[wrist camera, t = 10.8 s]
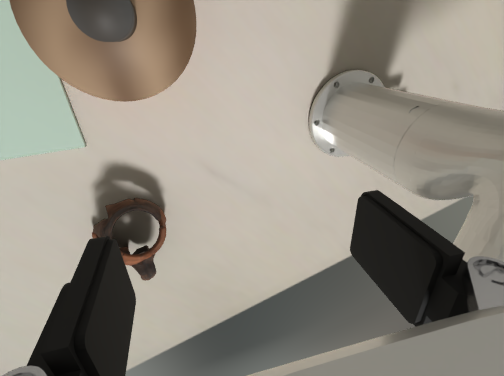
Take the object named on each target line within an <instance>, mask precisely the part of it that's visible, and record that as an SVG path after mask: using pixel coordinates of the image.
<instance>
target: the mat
mask: <svg viewBox="0 0 504 376" xmlns="http://www.w3.org/2000/svg"><path fill="white" fill-rule="evenodd" d="M82 147H86V143H85V140H84V138H83V135H82V133H81V130H80V128H79V125H78V122H77V120H76V117H75V115H74V112H73V110H72V107H71V104H70V102H69V99H68V97H67V94H66V92H65V89H64V86H63V84H62V81H61V79H60V77H58V76H57V75H56V74H55V73H54V72H52V71H51V70H50V69H49V68H48V67H47V66H46V65H45V64H44V63H43V62H42V61H41V60H40V59H39V57H38V56H37V55H36V54H35V52H34V51H33V50H32V49H31V47H30V46H29V44H28V43H27V41H26V39H25V38H24V36H23V35H22V33H21V30H20V28H19V26H18V24H17V22H16V20H15V17H14V14H13V12H12V9H11V5H10V1H9V0H0V160H6V159H12V158H18V157H25V156H31V155H38V154H44V153H50V152H57V151H63V150H69V149H76V148H82Z"/></svg>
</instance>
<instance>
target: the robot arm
mask: <svg viewBox="0 0 504 376" xmlns="http://www.w3.org/2000/svg"><path fill="white" fill-rule="evenodd" d="M314 121H315V122H314ZM309 130H310V134H311V137H312V140H313V141H314V143H315V145H316V146H317V147H318V148H319V149H320V150H322V151H323V152H324V153H326V154H328V155H330V156H335V157H346V156H351V157H353V158H355V159H356V160H358V161H360V162H361V163H363V164H365V165H366V166H368V167H370V168H371V169H373V170H375V171H376V172H378V173H380V174H381V175H383V176H385V177H386V178H388V179H390V180H391V181H393V182H395V183H396V184H398V185H400V186H401V187H403V188H405V189H406V190H408V191H410V192H412V193H413V194H415V195H418V196H420V197H423V198H426V199H432V200H451V199H459V198H464V197H469V196H473V198H474V201H473V205H472V207H471V209H470V211H469V213H468V215H467V219H466V221H465V222H464V224H463V226H462V228H461V230H460V232H459V234H458V235H457V237H456V239H455V241H454V243H453V244H452V243H451V242H450V241H448V240H447V239H445V238H444V237H443V236H441V235H440V234H439V233H437V232H436V231H434V230H433V229H432V228H430V227H429V226H427V225H426V224H425V223H423V222H422V221H420V220H419V219H418V218H416V217H415V216H413V215H412V214H411V213H409V212H408V211H407V210H405V209H404V208H402V207H401V206H400V205H398V204H397V203H395V202H394V201H393V200H391V199H390V198H388V197H387V196H386V195H384V194H383V193H381V192H380V191H378V190H375V191H369V192H364V193H363V194H362V195H361V197H359V199H358V203H357V209H356V216H355V222H354V228H353V234H352V240H351V246H350V251H351V254H352V256H353V257H354V258H355V259H356V261H357V262H358V263H359V264H360V265H361V267H362V268H363V269H364V270H365V271H366V273H367V274H368V275H369V276H370V277H371V278H372V280H373V281H374V282H375V283H376V284H377V285H378V287H379V288H380V289H381V290H382V292H383V293H384V294H385V295H386V296H387V297H388V299H389V300H390V301H391V302H392V303H393V305H394V306H395V307H396V308H397V309H398V311H399V312H400V313H401V314H402V315H403V317H404V318H405V319H406V320H407V321H408V322H409V323H411V324H414V325H415V327H414V328H410V329H407V330H403V331H400V332H396V333H392V334H389V335H385V336H382V337H378V338H374V339H371V340H367V341H364V342H360V343H357V344H354V345H350V346H347V347H343V348H340V349H336V350H333V351H329V352H326V353H323V354H319V355H316V356H312V357H309V358H305V359H302V360H298V361H295V362H292V363H288V364H285V365H281V366H278V367H274V368H271V369H268V370H264V371H261V372H257V373H254V374H251V375H247V376H504V111H502V110H496V109H490V108H484V107H478V106H473V105H468V104H463V103H458V102H453V101H448V100H443V99H438V98H434V97H429V96H424V95H419V94H414V93H409V92H404V91H399V90H395V89H390V88H385V87H384V85H383V83H382V82H381V80H380V79H379V78H378V77H377V76H376V75H374V74H372V73H370V72H367V71H363V70H349V71H345V72H342V73H340V74H338V75H336V76H335V77H333V78H332V79H330V80H329V81H328V82H327V83H326V84H325V85H324V86H323V87H322V89H321V90H320V91H319V93H318V94H317V96H316V98H315V100H314V102H313V104H312V107H311V111H310V115H309ZM135 305H136V297H135V292H134V290H133V287H132V284H131V281H130V278H129V275H128V272H127V269H126V266H125V263H124V260H123V257H122V254H121V251H120V248H119V246H118V243H117V240H116V239H113V240H111V238H110V237H109V236H105V237H99V238H94V239H90V240H89V241H88V243H87V246H86V248H85V250H84V253H83V255H82V257H81V260H80V262H79V264H78V267H77V269H76V271H75V273H74V276H73V278H72V280H71V283H67V284H65V285H64V286H63V288H62V289H61V292H60V294H59V296H58V298H57V300H56V303H55V305H54V307H53V309H52V311H51V314H50V316H49V318H48V320H47V322H46V325H45V327H44V329H43V331H42V333H41V335H40V338H39V340H38V342H37V344H36V346H35V349H34V351H33V353H32V355H31V357H30V360H29V362H28V364H27V366H24V367H19V368H17V369H14V370H12V371H10V372H8V373H6V374H4V375H3V376H125V372H126V366H127V360H128V353H129V346H130V339H131V332H132V325H133V318H134V312H135Z"/></svg>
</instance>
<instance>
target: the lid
mask: <svg viewBox="0 0 504 376" xmlns="http://www.w3.org/2000/svg"><path fill="white" fill-rule="evenodd" d="M9 1H10V5H11V9H12V12H13V14H14V17H15V20H16V22H17V24H18V26H19V28H20V30H21V33H22V35H23V36H24V38H25V39H26V41H27V43H28V44H29V46H30V47H31V49H32V50H33V51H34V52H35V54H36V55H37V56H38V57H39V59H40V60H41V61H42V62H43V63H44V64H45V65H46V66H47V67H48V68H49V69H50V70H51V71H52V72H54V73H55V74H56V75H57V76H58V77H60V78H61V79H62V80H64V81H65V82H67V83H68V84H70V85H71V86H73V87H75V88H77V89H79V90H81V91H83V92H85V93H87V94H90V95H92V96H95V97H99V98H102V99H107V100H113V101H136V100H141V99H146V98H149V97H152V96H154V95H156V94H158V93H160V92H162V91H164V90H165V89H166V88H168V87H169V86H171V85H172V84H173V83H174V82H175V81H176V80H177V79H178V77H179V76H180V75H181V74H182V72H183V71H184V69H185V67H186V66H187V64H188V62H189V60H190V57H191V55H192V51H193V48H194V44H195V37H196V13H195V6H194V1H193V0H9Z"/></svg>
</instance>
